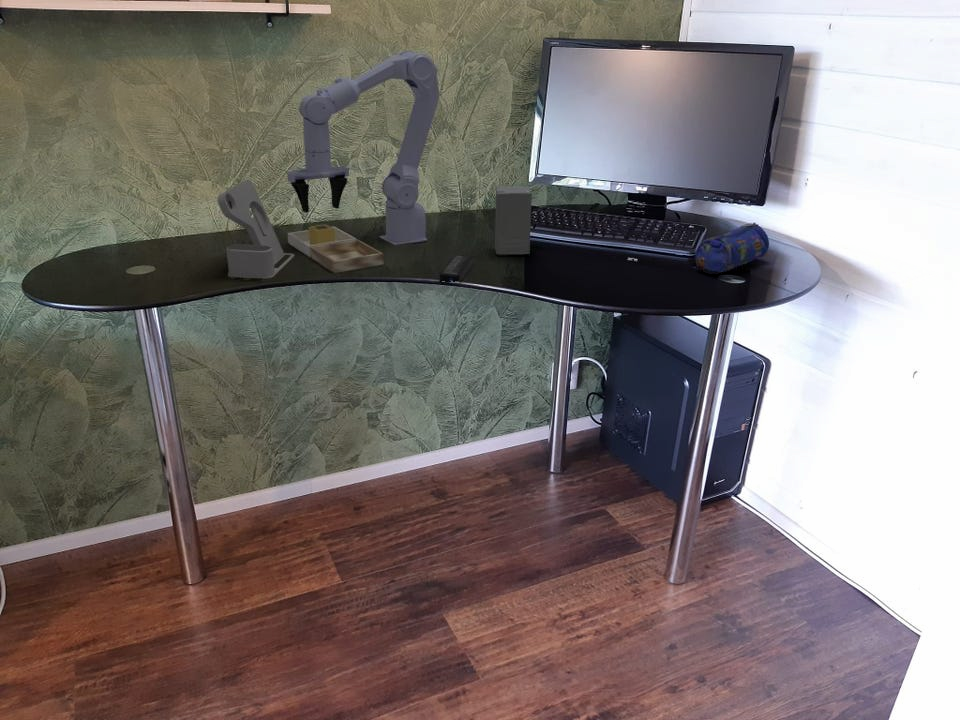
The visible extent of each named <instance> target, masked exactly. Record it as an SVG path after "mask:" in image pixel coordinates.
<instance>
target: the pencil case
mask: <svg viewBox="0 0 960 720" xmlns="http://www.w3.org/2000/svg"><path fill="white" fill-rule="evenodd" d="M756 223H757V222H753V223H746V224H741V226H739V227H736V229H733V230H730V231H728V232H726V233H724V234H722V235H719V236H713V237H709V238H706V239H704V240H702V241H701V242H700V244H698V245H697V248H696V250H695V251H696V252H695V263H696V266H697V267H698V266H700V267H703V268H705V269H708V270H712V271H717V272H723V273H724V271H725V272H728V271H731V270H733V269H736V268H738V267H741V266H744V265H746V264H749V263H751V262H752V261H755V260H758V259H757V258H758V257H761V258H763V257H764V256H765V255H766V254H767V252H768V251H769V249H770V248H769V246H770V240H769V239H770V238H769V236H768V234H767V233H766V231H765V230H764V229H763V228H762V226H760V225H759V224H756ZM754 259H755V260H754ZM748 262H749V263H748ZM743 264H744V265H743ZM740 265H741V266H740ZM737 266H738V267H737ZM735 267H736V268H735ZM730 269H731V270H730ZM727 270H728V271H727Z"/></svg>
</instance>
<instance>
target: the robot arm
mask: <svg viewBox="0 0 960 720" xmlns="http://www.w3.org/2000/svg"><path fill="white" fill-rule="evenodd" d="M438 71H439V70H438V68H437V66H436V64H435V62H434V61H433V59H432V57H430V56H429V55H428V54H426V53H422V52H421V53H417V52H415V51H411V50H404V51H402V52H400V53H399V54H395V55H392V56H390V57H388V58H387V59H385V60H384V61H382V62H381V63H379V64H377V65H375V66H374V67H371V68H370V69H369V70H367V71H365V72H364V73H362V74H360V75H358V76H357V77H355V78H354V79H351V78H349V77H343V78H342V77H339V76H338V77H336V78H335V79H334V82H333V83H332V84H330V85H328V86H326V87H324V88H317V89H316V90H315V92H316V94H315V93H309V94H307V95H305V96H304V97H303V98H302V99H301V101H300V103H299V106H298V111H299V113H300V116H301V117H303V118H302V122H303V144H304V145H303V146H304V159H305V161H304V162H305V168H304V169H303V168H302V169H299V170H294V171H287V172H286V174H287V175H286V176H287V181H288V182H289V183H290V184H291V186H292V188H293V189H294V191H295V193H296V195H297V198H298V200H299V203H300V206H301V210H302V212H304V213H306V214H307V213H310V205H309V203H310V202H309V191H310V184H308V183H307V181H309V180H318V179H326V178H328V180H329V183H330V184H329V185H330V191H331V205H332V208H334V209H336V210H337V209H340V203H341V198H342V196H343V192H344V190H345V188H346V185H347V184H348V178H347V177H349V176H350V168H349V166H348V167H347V166H332V161H331V160H332V157H331V138H330V137H331V136H330V129H329V126H330V125H329V121H330V119H332V115H335V114H336V113H339V112H341V111H342V110H344V109H346V108H348V107H350V106H352V105H354V104H355V103H357V102H358V101H359V98H360V95H361V94H362V93H365V92H366V91H368V90H371V89H373V88H374V87H377V86H379V85H381V84H383V83H385V82H387V81H389V80H395V79H396V80H403V81H404V82H405V83H406V84H407V85H408V86H409V89H410V90H411V91H412V93H413V95H414V97H415V98H414V101H413V102H414V103H413V106H412V108H411V111H410V115H409V118H408V122H407V126H406V129H405V133H404V135H403V140H402V143H401V146H400V148H399V149H400V150H399V152H398V156H397V159H396V162H395V163H394V164H393V165H392V166H391V167H390V170H389V173H388V175H386V177H385V178H384V179H383V181H382V184H381V190H382V191H381V192H382V194H383V195H384V196H385V197H386V200H385V235H379V238H381V239H382V240H384V241H386V242H388V243H389V244H392V245H393V246H397V245H402V244H408V243H411V244H414V243H415V244H416V243H421V242H427V241H428V239H427V237H426V230H427V229H426V225H427V224H426V223H427V222H426V211H425V208H424V206H423V205H422V204H421V203H419V202H417V201H418V198H419V196H420V195H419V194H420V193H419V183H420V175H419V170H418V169H419V166H420V163H421V159H422V155H423V152H424V149H425V146H426V143H427V140H428V136H429V132H430V129H431V127H432V123H433V120H434V116H435V114H436V110H437V107H438V103H439V100H440V89H439V83H438V76H437V75H438Z"/></svg>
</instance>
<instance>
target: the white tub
mask: <svg viewBox="0 0 960 720" xmlns="http://www.w3.org/2000/svg"><path fill="white" fill-rule="evenodd" d="M331 227H332V228H334V232H335V241H334V242H328V243H321V244H315V245H310V239H309V229H306V230H300V231H293V232H287V244H288V245H290V246H291V247H293V248H295V249H297V250H298V251H299V252H301V253H303V254H304V255H305V256H308V258H311V253H310V247H315V246H321V245H327V244H334V243H340V242H347V241H353V240H358V239H357V238H356V237H354V236H352V235H350V234H349V233H347V232H345V231H343V230H341V229H339V228H338V227H336V226H335V225H334V226H331Z"/></svg>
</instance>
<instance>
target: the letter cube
mask: <svg viewBox="0 0 960 720" xmlns="http://www.w3.org/2000/svg"><path fill="white" fill-rule="evenodd" d="M332 227H333V226H331V225H329V224H319V225H312V226H311V225H310V226H308V230H309V239H310V245H315V244H321V243H328V242H334V241H335V232H334V228H332Z"/></svg>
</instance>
